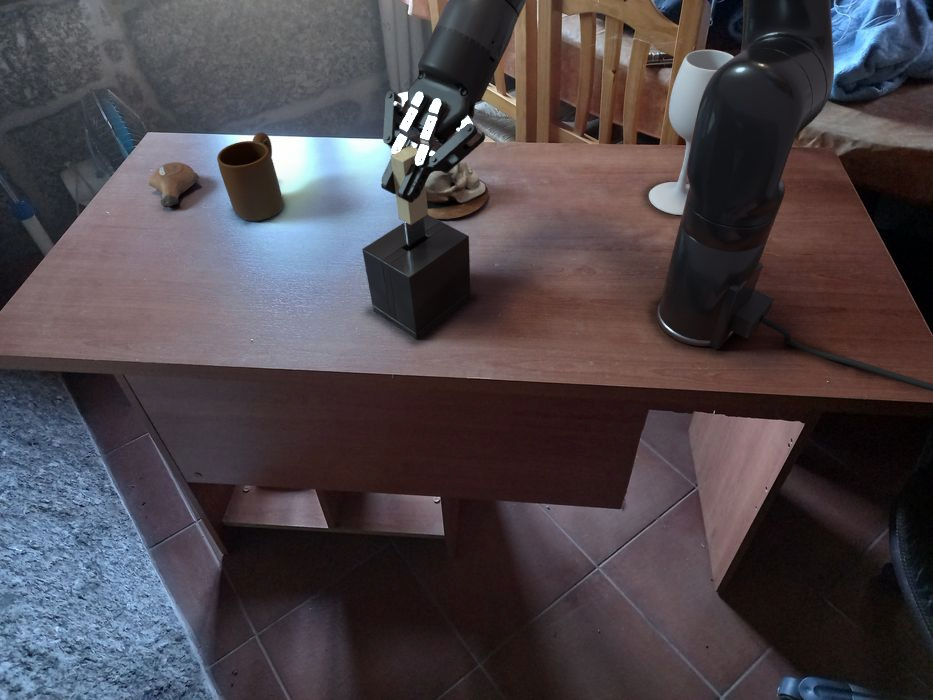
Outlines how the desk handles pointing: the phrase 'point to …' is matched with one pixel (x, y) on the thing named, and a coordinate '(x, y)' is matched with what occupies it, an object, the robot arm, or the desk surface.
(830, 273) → the desk surface
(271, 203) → the mug
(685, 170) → the wineglass
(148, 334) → the desk surface
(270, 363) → the desk surface
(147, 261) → the desk surface
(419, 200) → the knife
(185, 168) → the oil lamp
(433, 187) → the skull
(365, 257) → the knife block
